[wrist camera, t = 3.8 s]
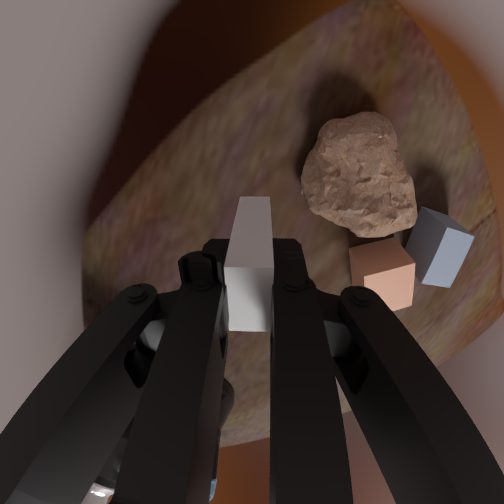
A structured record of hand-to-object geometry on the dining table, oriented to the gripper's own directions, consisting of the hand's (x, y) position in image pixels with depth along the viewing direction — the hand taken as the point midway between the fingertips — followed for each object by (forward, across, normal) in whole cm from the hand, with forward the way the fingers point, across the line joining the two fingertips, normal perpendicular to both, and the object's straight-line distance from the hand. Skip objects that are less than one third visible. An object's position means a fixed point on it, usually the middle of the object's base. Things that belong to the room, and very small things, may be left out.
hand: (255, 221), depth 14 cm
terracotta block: (+14, +14, -11) cm, 23 cm away
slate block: (+14, +21, -7) cm, 27 cm away
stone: (+15, +9, 0) cm, 17 cm away
